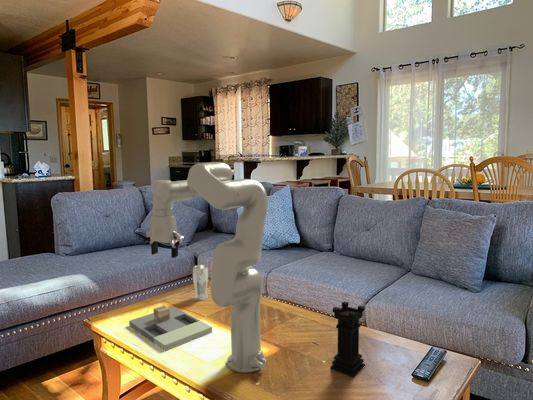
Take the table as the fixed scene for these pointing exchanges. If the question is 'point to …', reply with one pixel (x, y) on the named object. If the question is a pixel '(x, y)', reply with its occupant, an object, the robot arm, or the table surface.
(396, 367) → the table surface
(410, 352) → the table surface
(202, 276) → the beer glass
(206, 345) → the table surface
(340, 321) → the chess piece
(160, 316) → the maple cube
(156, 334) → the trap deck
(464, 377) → the table surface
